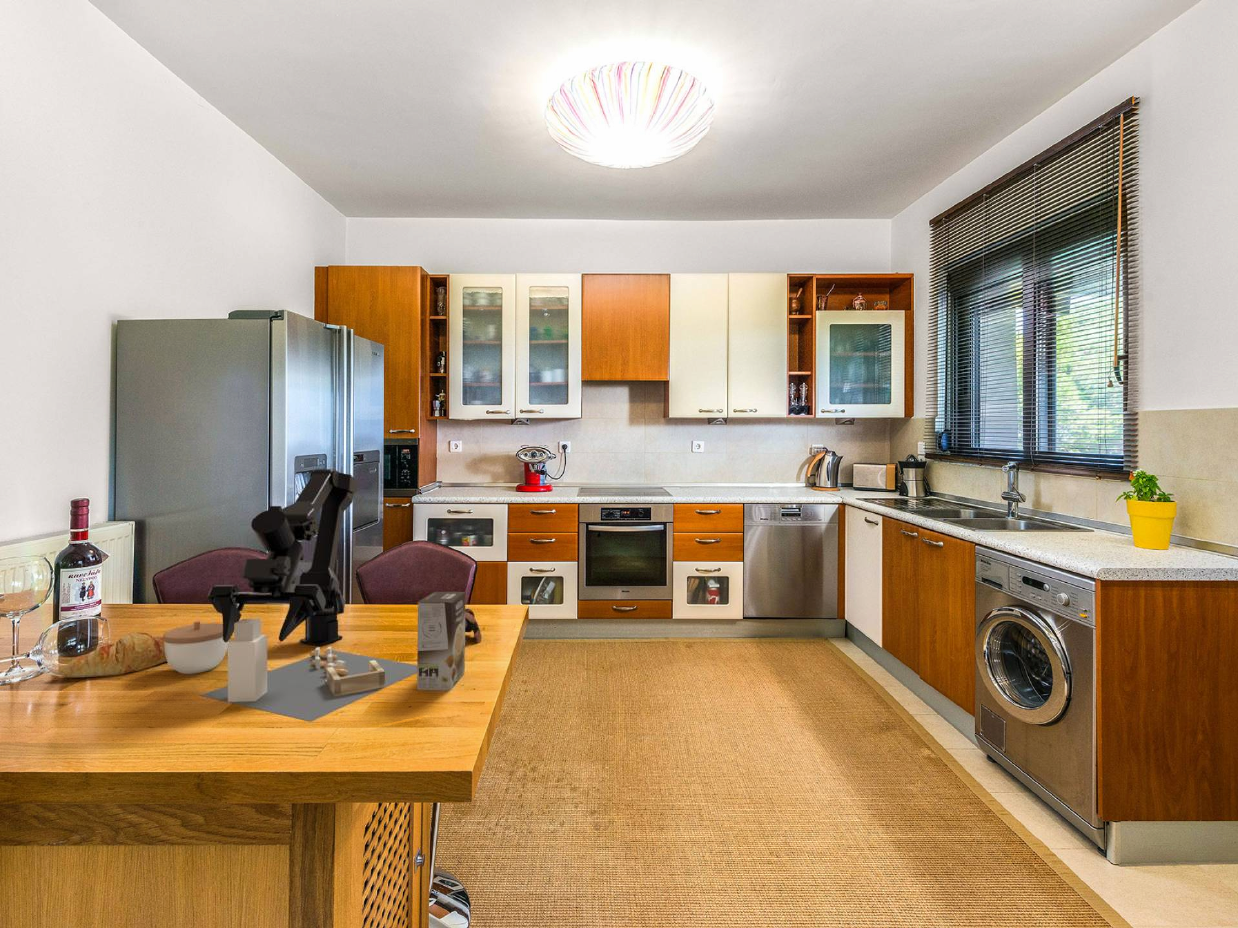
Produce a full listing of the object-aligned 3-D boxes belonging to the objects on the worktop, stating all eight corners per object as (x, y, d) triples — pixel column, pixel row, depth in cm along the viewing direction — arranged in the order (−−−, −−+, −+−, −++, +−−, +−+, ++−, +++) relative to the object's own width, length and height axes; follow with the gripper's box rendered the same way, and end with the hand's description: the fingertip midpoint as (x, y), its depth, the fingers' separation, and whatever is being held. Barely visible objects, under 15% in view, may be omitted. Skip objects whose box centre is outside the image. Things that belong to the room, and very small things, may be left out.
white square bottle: (240, 692, 113) (240, 617, 113) (267, 691, 114) (267, 617, 113) (228, 701, 109) (227, 624, 109) (255, 701, 109) (255, 624, 109)
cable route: (305, 656, 133) (305, 646, 133) (332, 652, 136) (332, 642, 136) (319, 680, 119) (319, 669, 119) (348, 675, 122) (348, 664, 122)
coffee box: (451, 692, 115) (452, 602, 115) (416, 691, 115) (416, 601, 115) (465, 674, 124) (466, 591, 124) (432, 673, 125) (432, 590, 124)
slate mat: (199, 697, 112) (199, 695, 112) (330, 651, 137) (330, 649, 137) (310, 723, 101) (310, 721, 101) (429, 669, 127) (429, 666, 127)
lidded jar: (207, 658, 133) (207, 612, 132) (241, 666, 128) (241, 618, 128) (150, 673, 123) (150, 624, 123) (184, 683, 118) (184, 632, 118)
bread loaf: (62, 704, 117) (64, 670, 114) (51, 667, 123) (54, 634, 120) (196, 671, 133) (201, 641, 131) (181, 640, 139) (186, 610, 136)
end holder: (325, 681, 119) (325, 666, 119) (373, 673, 123) (373, 658, 123) (334, 696, 112) (334, 680, 112) (385, 686, 116) (385, 671, 116)
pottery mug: (479, 649, 142) (459, 619, 140) (443, 665, 143) (423, 635, 142) (492, 621, 153) (474, 593, 152) (458, 636, 155) (440, 608, 153)
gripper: (212, 540, 117) (176, 616, 106) (320, 540, 119) (295, 615, 108) (234, 576, 125) (203, 650, 114) (335, 575, 127) (313, 648, 116)
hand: (252, 640), depth 113 cm, fingers open, 9 cm apart
